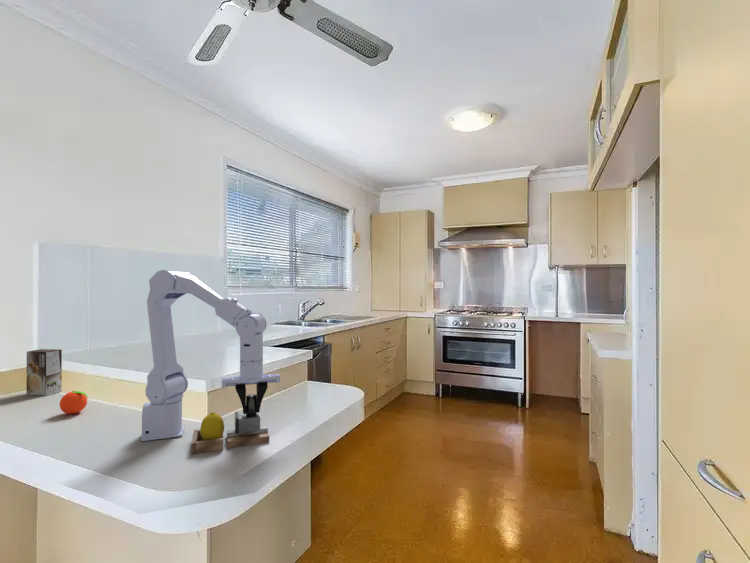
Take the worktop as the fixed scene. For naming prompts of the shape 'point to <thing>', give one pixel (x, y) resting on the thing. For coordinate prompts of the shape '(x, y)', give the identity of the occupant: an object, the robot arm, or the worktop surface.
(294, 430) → the worktop surface
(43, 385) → the coffee box
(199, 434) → the lemon cradle
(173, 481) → the worktop surface
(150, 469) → the worktop surface
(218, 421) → the lemon
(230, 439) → the press bed
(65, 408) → the clementine
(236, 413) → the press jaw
